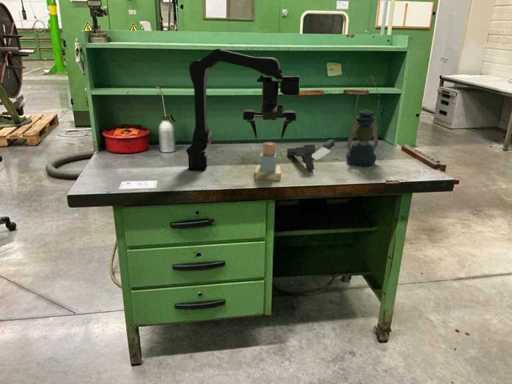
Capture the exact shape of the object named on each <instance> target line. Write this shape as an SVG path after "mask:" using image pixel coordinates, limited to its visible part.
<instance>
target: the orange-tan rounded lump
mask: <svg viewBox="0 0 512 384" xmlns="http://www.w3.org/2000/svg"><path fill="white" fill-rule="evenodd" d="M262 153H263V155H264V156H268V157H271V156H275V153H276V143H275V142H271V141H270V142H263V143H262Z"/></svg>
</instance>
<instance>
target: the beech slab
mask: <svg viewBox="0 0 512 384" xmlns="http://www.w3.org/2000/svg"><path fill="white" fill-rule="evenodd" d="M254 176H255V177H254V178H255V181H256V180H257V181H261V180H262V181H281V178H282V172H281V166H280V165H276V172H260V164H259V165H255V175H254Z"/></svg>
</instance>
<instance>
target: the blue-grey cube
mask: <svg viewBox="0 0 512 384" xmlns="http://www.w3.org/2000/svg"><path fill="white" fill-rule="evenodd" d="M259 165H260V172H276V166H277V153H276V152H275V156H271V157H268V156H264V155H263V152H260V163H259Z"/></svg>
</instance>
